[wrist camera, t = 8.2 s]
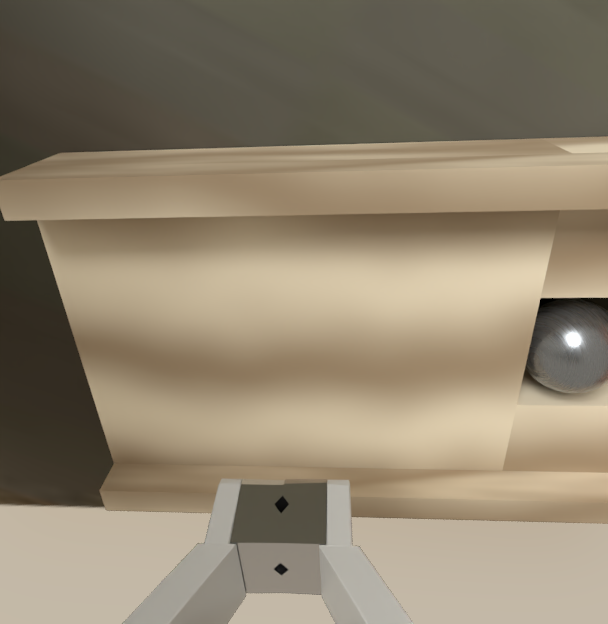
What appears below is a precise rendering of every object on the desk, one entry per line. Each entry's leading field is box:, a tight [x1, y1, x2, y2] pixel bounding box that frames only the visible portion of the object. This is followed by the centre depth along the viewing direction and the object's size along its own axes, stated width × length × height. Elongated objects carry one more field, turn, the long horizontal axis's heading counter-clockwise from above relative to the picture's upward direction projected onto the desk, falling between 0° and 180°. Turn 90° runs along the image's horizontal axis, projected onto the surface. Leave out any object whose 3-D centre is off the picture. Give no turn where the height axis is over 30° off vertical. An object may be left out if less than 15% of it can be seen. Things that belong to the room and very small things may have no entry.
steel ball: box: [525, 298, 608, 393], centre depth 18 cm, size 4×4×4 cm
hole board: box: [0, 137, 608, 524], centre depth 17 cm, size 14×25×6 cm, turn 92°
